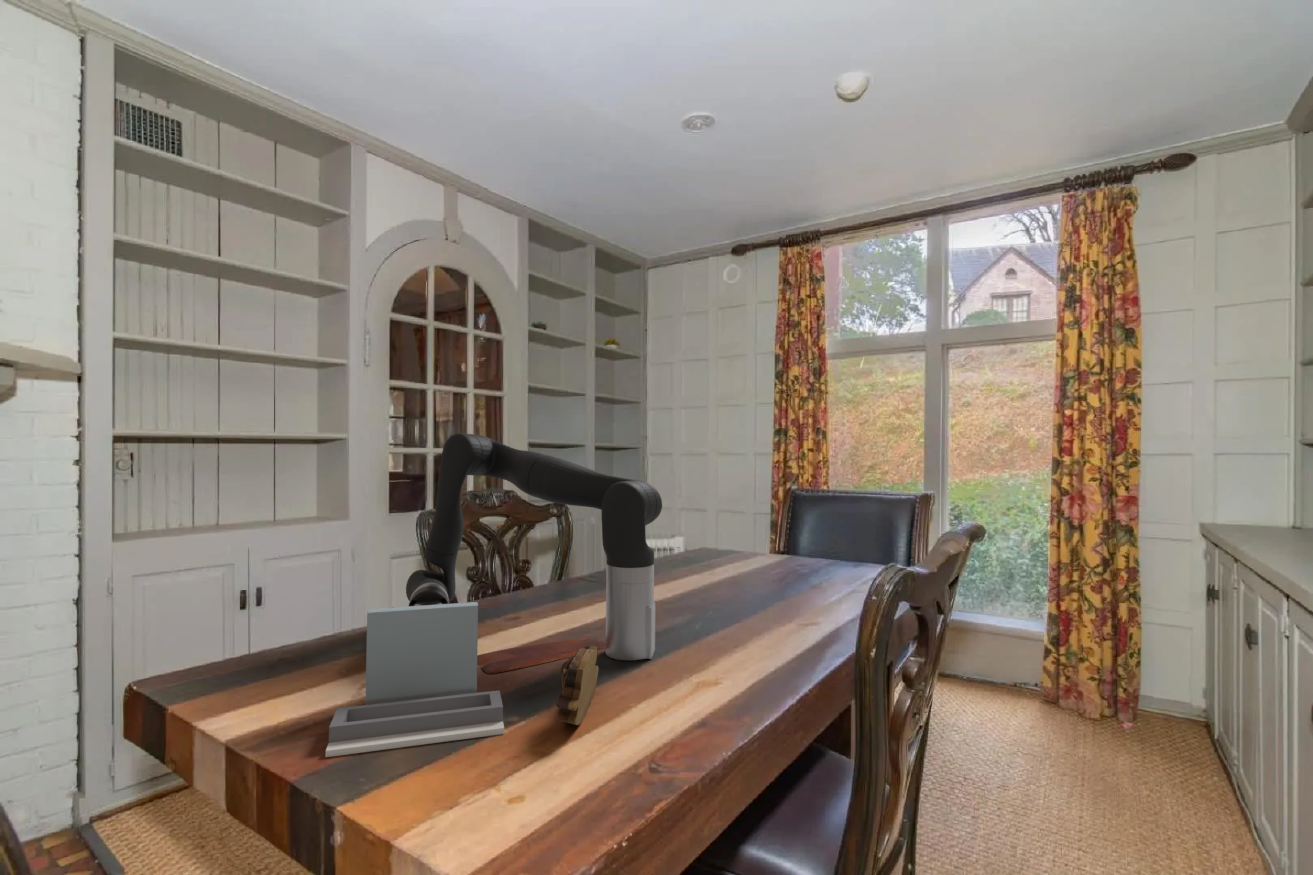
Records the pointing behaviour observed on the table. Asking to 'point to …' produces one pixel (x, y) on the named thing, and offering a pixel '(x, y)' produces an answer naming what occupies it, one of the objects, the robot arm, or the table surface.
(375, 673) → the grey panel
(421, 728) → the track
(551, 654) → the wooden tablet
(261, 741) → the table surface
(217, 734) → the table surface
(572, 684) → the wooden carving
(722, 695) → the table surface
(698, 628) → the table surface
